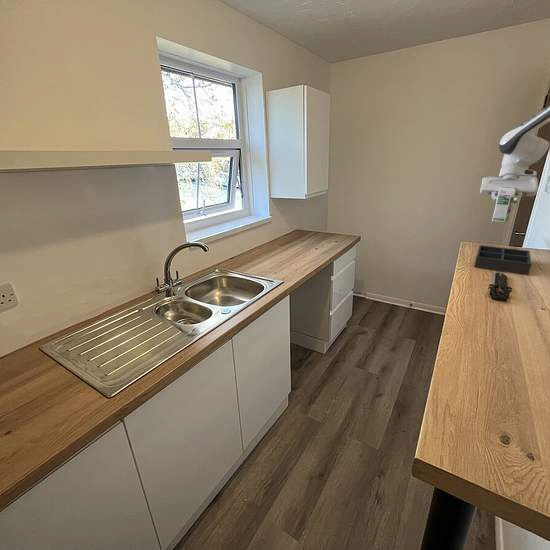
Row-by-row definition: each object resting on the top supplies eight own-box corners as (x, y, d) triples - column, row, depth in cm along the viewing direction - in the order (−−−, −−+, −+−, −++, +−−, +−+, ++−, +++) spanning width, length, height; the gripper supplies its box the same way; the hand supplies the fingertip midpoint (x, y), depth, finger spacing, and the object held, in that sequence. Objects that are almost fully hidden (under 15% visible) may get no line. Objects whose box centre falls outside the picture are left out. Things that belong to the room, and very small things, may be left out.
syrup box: (491, 221, 134) (499, 188, 128) (493, 218, 138) (501, 186, 132) (507, 223, 130) (515, 188, 125) (508, 220, 134) (517, 186, 129)
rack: (526, 261, 126) (529, 250, 124) (528, 275, 113) (531, 263, 111) (477, 255, 135) (479, 245, 134) (474, 267, 123) (476, 256, 121)
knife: (494, 273, 116) (495, 270, 116) (515, 276, 112) (516, 273, 112) (484, 297, 99) (485, 294, 98) (508, 303, 95) (509, 299, 94)
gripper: (483, 171, 137) (477, 196, 134) (541, 171, 126) (536, 198, 122) (482, 180, 142) (475, 205, 139) (538, 181, 131) (532, 207, 127)
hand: (504, 202), depth 130 cm, fingers closed on syrup box, 6 cm apart
